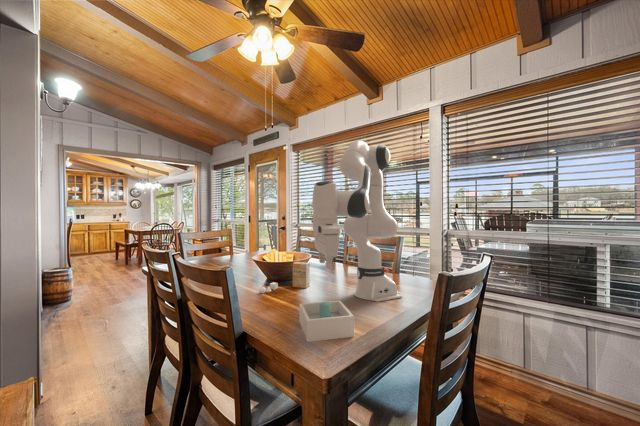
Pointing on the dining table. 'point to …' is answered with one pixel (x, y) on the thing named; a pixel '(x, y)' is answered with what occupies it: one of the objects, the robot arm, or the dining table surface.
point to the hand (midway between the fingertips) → (325, 265)
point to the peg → (324, 310)
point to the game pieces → (269, 288)
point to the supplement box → (301, 274)
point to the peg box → (326, 322)
